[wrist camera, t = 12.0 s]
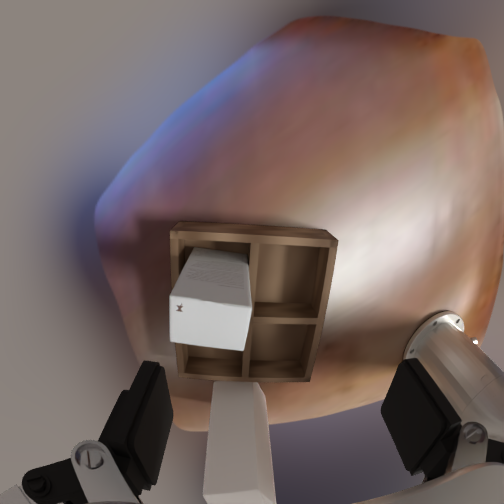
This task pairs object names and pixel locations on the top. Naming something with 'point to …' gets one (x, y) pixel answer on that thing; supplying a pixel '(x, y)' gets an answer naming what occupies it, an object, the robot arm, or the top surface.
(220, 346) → the skincare box
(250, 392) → the milk
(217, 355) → the walnut caddy
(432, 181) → the top surface
